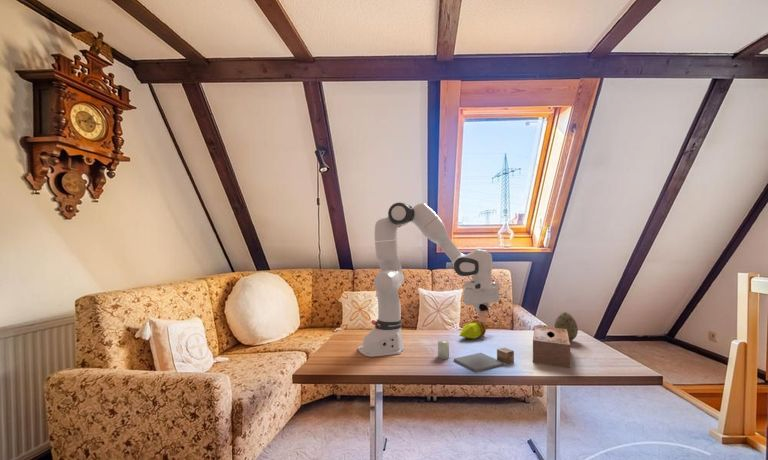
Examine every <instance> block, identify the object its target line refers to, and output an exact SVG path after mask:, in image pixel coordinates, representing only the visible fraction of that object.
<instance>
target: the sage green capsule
mask: <svg viewBox="0 0 768 460" xmlns="http://www.w3.org/2000/svg"><path fill="white" fill-rule="evenodd" d="M437 357H438V359H441V360H447V359H450V341H449V340H446V339H439V340H438V341H437Z"/></svg>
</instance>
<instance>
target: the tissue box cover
mask: <svg viewBox="0 0 768 460" xmlns="http://www.w3.org/2000/svg"><path fill="white" fill-rule="evenodd" d="M533 329H534V330H533V334H532V335H533V336H532V363H533V364H540V365H545V366H546V365H547V366H555V367H561V368H567V369H571V343H570V342H571V341H569V336H568V332H567V329H559V328H554V327H549V326H539V325H534V328H533Z"/></svg>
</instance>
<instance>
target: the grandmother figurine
mask: <svg viewBox="0 0 768 460" xmlns="http://www.w3.org/2000/svg"><path fill="white" fill-rule="evenodd" d="M478 307H479V309H480V310H481V313H478V320H479V322H478V324H483V325H489V324H488V323H489V322H487V315H490V311H489V307H487V306H486V305H485V303H484V304H479V306H478ZM474 311H475V312H476V308H475V307H474ZM486 311H487V312H486ZM483 322H484V323H483Z"/></svg>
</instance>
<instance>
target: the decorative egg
mask: <svg viewBox="0 0 768 460" xmlns="http://www.w3.org/2000/svg"><path fill="white" fill-rule="evenodd" d="M553 328H559V329H567V332H568V336H569V341H570V342H572V341H573V340H575V339H576V338H577V336H578V331H579V329H578V325H577V322H576V320H575V318H574V317H573V315H571V314H570V313H569V312H566V311H563V312H561V313H560V314H559V315H558V316H557V318H556V319H555V322H554V326H553Z"/></svg>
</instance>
